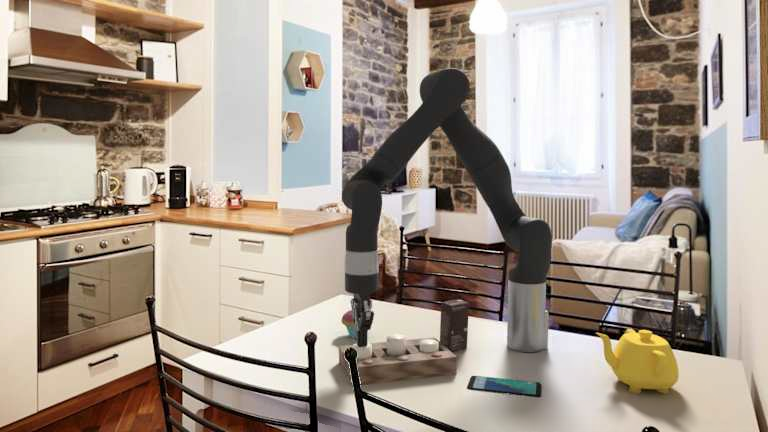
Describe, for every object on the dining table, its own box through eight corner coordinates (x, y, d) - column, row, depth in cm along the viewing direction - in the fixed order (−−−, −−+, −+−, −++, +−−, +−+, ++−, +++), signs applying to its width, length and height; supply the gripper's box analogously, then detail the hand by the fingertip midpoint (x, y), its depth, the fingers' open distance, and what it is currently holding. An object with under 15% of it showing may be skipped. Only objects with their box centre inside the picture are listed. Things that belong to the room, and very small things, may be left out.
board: (434, 353, 139) (434, 336, 138) (456, 373, 125) (456, 355, 125) (339, 362, 132) (338, 345, 132) (351, 385, 119) (351, 366, 118)
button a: (434, 356, 133) (434, 338, 133) (441, 363, 129) (441, 344, 129) (417, 358, 132) (417, 340, 132) (423, 365, 128) (423, 346, 128)
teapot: (620, 367, 129) (622, 317, 128) (687, 385, 119) (690, 331, 118) (593, 384, 119) (595, 330, 118) (663, 405, 109) (667, 346, 108)
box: (450, 353, 139) (451, 305, 137) (439, 347, 142) (439, 301, 141) (469, 348, 142) (469, 302, 141) (457, 343, 146) (457, 298, 144)
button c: (369, 360, 129) (369, 341, 129) (374, 367, 125) (374, 348, 124) (350, 362, 128) (350, 343, 128) (354, 369, 124) (354, 349, 123)
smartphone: (471, 374, 124) (541, 382, 120) (471, 378, 124) (541, 385, 120) (466, 387, 117) (541, 395, 113) (466, 391, 117) (540, 399, 113)
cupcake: (379, 334, 154) (379, 291, 152) (361, 342, 146) (361, 297, 145) (353, 328, 158) (353, 287, 157) (335, 337, 151) (334, 293, 150)
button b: (402, 351, 131) (402, 333, 131) (408, 358, 127) (408, 339, 126) (384, 353, 130) (384, 335, 130) (389, 360, 126) (389, 341, 125)
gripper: (386, 275, 119) (385, 354, 121) (370, 263, 132) (370, 335, 133) (351, 277, 117) (351, 357, 119) (339, 265, 130) (339, 338, 131)
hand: (361, 345), depth 126 cm, fingers closed
